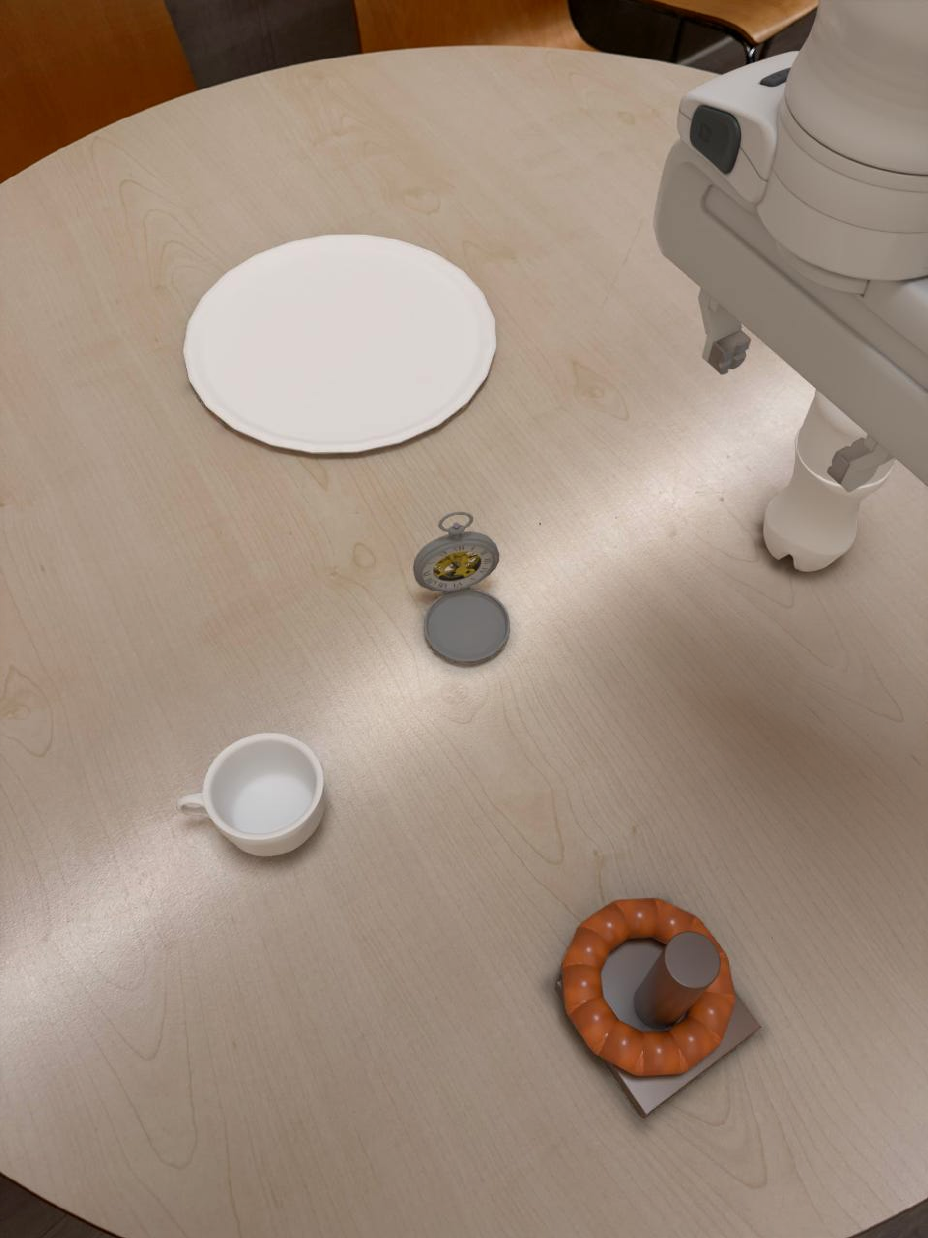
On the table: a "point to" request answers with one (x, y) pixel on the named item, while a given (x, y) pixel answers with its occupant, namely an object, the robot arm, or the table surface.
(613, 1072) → the stand
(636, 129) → the table surface
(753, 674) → the table surface
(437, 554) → the pocket watch
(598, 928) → the orange beaded ring
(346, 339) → the plate
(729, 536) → the table surface
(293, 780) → the teacup
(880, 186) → the robot arm
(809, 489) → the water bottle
